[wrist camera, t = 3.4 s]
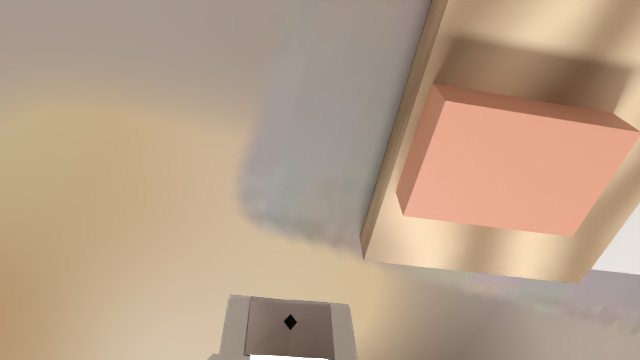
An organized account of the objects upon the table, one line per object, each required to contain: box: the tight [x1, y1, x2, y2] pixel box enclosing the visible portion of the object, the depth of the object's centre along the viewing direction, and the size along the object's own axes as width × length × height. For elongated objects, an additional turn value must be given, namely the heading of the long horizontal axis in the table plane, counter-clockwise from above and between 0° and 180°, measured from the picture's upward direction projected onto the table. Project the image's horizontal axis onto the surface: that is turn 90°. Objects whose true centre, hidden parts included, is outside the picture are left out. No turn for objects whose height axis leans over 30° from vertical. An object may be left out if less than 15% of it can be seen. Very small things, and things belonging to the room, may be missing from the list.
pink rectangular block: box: [396, 83, 640, 237], centre depth 20 cm, size 9×6×2 cm, turn 80°
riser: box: [360, 0, 640, 284], centre depth 22 cm, size 14×16×2 cm
